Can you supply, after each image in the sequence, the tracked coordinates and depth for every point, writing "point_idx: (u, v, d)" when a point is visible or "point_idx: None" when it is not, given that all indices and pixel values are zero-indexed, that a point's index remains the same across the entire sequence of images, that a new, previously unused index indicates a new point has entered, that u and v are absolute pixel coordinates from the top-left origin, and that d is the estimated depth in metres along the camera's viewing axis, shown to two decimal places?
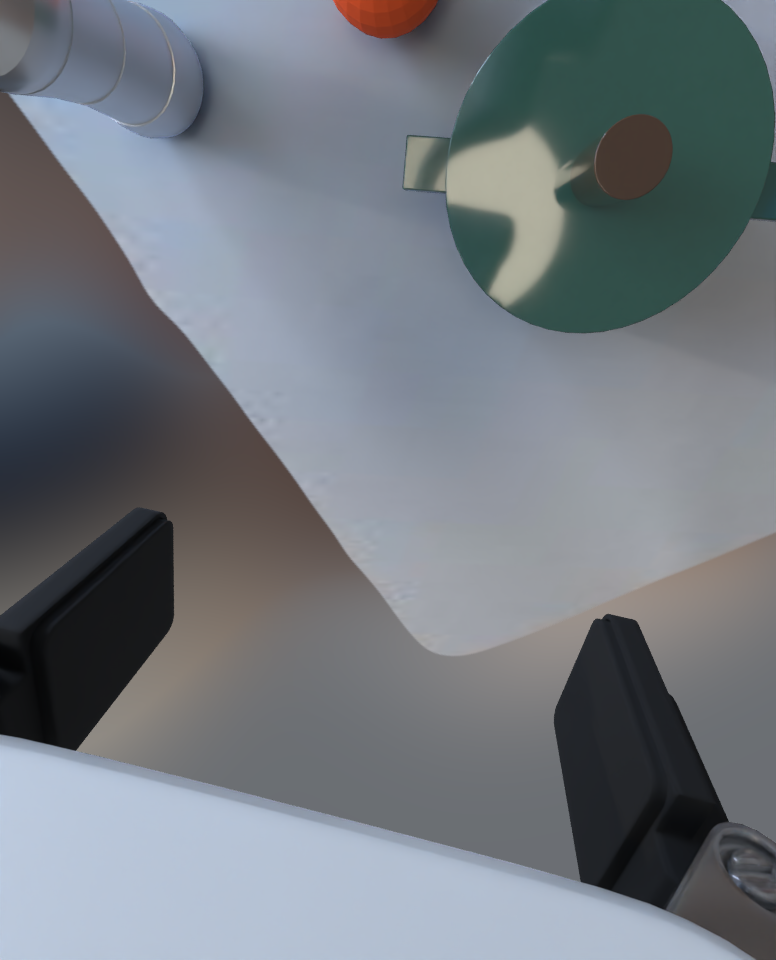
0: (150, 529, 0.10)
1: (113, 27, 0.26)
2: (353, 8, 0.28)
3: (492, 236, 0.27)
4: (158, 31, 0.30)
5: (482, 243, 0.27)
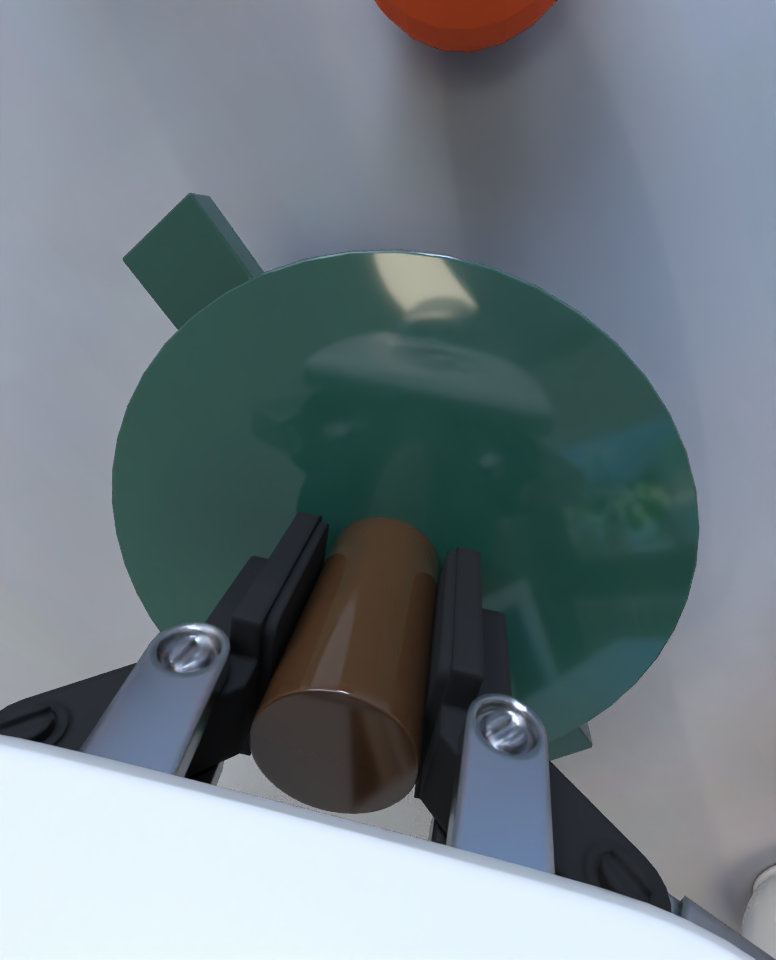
0: (317, 531, 0.11)
1: None
2: None
3: (182, 480, 0.13)
4: None
5: (158, 473, 0.13)
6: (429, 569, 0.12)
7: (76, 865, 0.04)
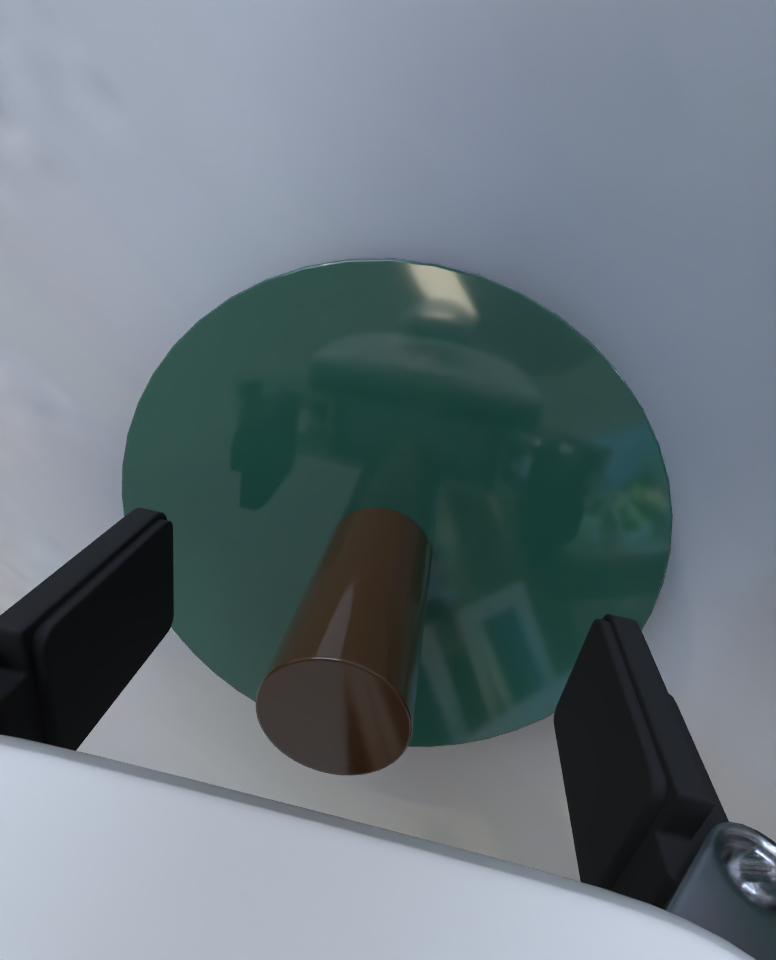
0: (150, 529, 0.10)
1: None
2: None
3: (188, 475, 0.14)
4: None
5: (166, 468, 0.14)
6: (421, 555, 0.13)
7: (76, 865, 0.04)
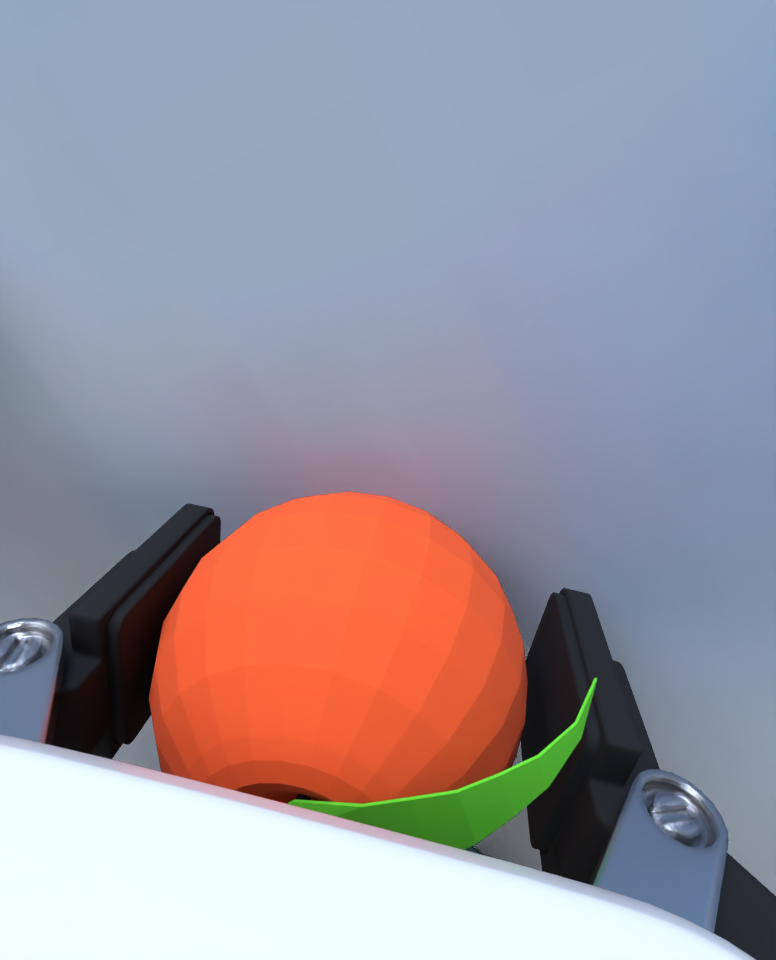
0: (202, 524, 0.11)
1: None
2: None
3: None
4: None
5: None
6: None
7: (76, 865, 0.04)
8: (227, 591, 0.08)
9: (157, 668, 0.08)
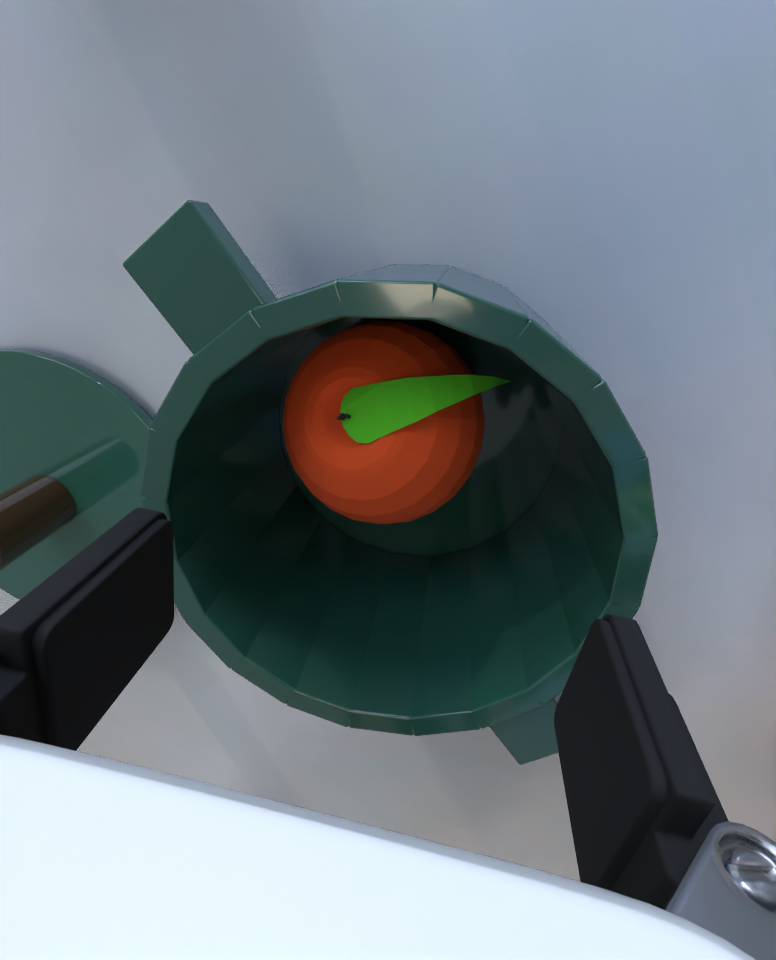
0: (150, 529, 0.10)
1: None
2: (285, 436, 0.18)
3: None
4: None
5: None
6: (51, 499, 0.25)
7: (76, 865, 0.04)
8: None
9: (294, 376, 0.17)
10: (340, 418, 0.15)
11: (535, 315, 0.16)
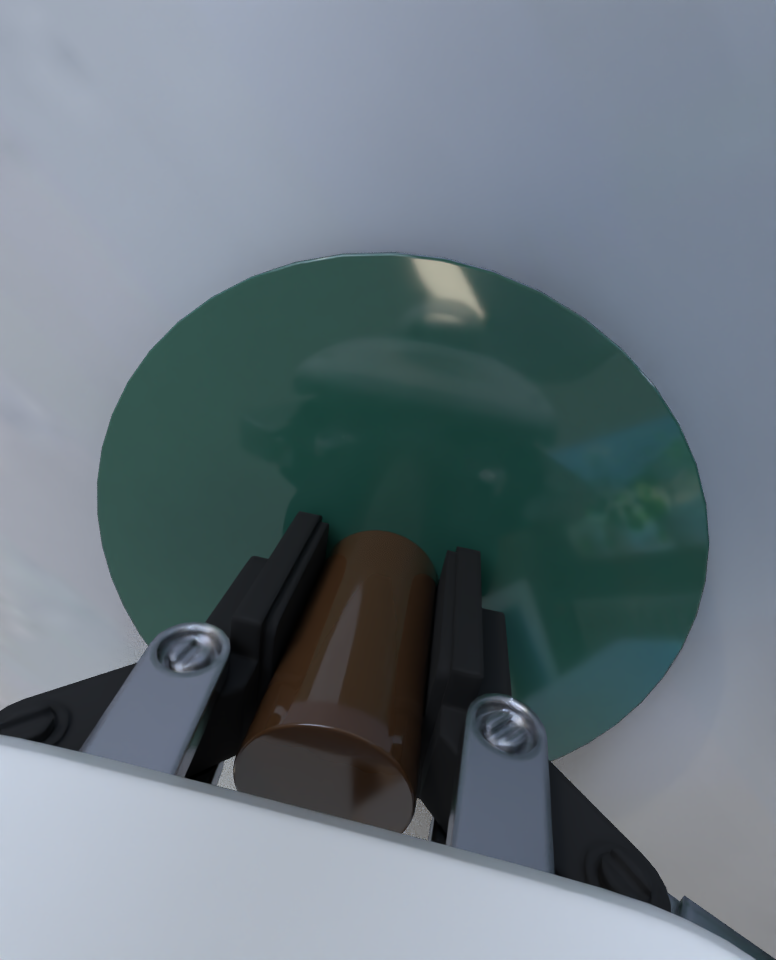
0: (317, 531, 0.11)
1: None
2: None
3: (169, 492, 0.13)
4: None
5: (145, 485, 0.13)
6: (427, 586, 0.11)
7: (76, 865, 0.04)
8: None
9: None
10: None
11: None
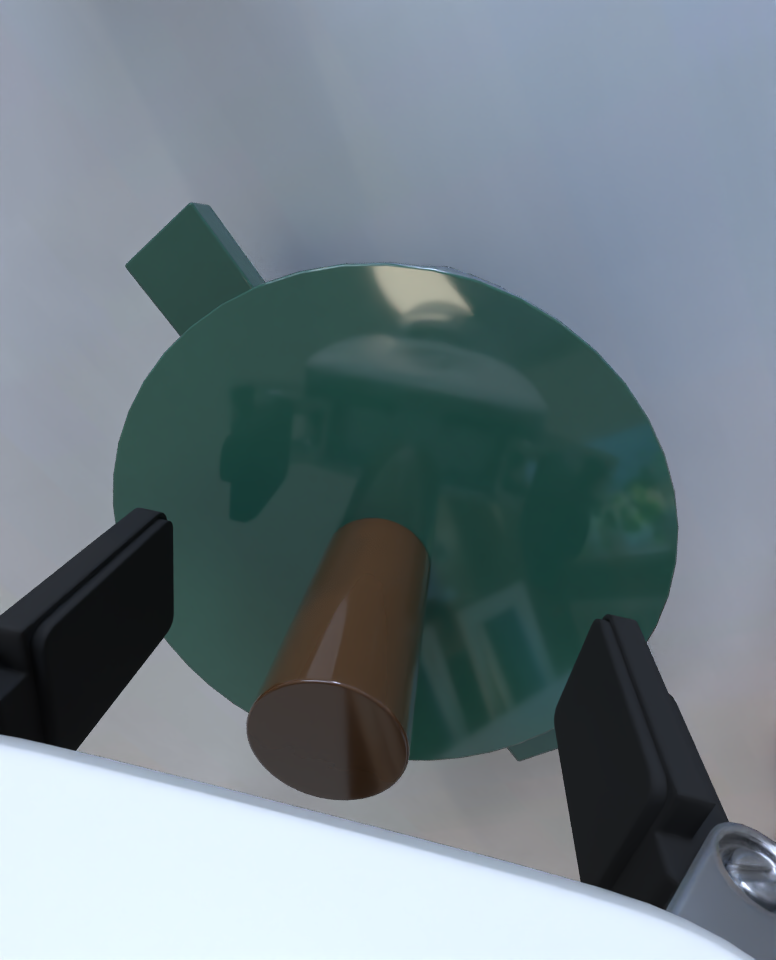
0: (150, 529, 0.10)
1: None
2: None
3: (181, 484, 0.14)
4: None
5: (158, 477, 0.14)
6: (419, 568, 0.12)
7: (76, 865, 0.04)
8: None
9: None
10: None
11: None
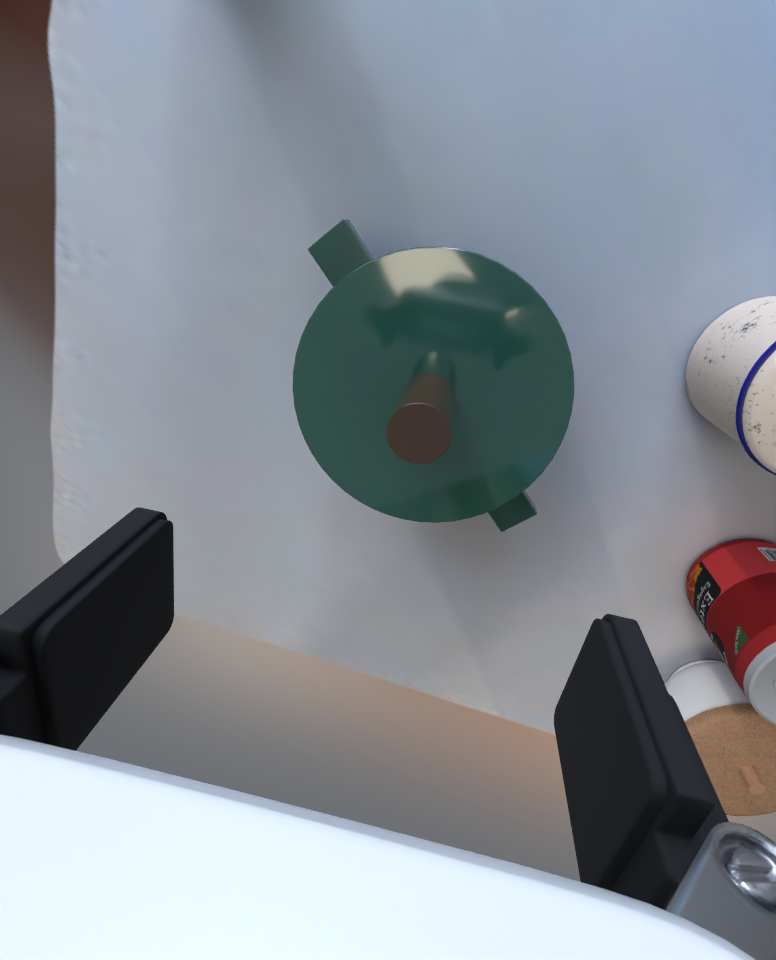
0: (150, 529, 0.10)
1: None
2: None
3: (330, 358, 0.27)
4: None
5: (319, 355, 0.27)
6: (451, 392, 0.26)
7: (76, 865, 0.04)
8: None
9: None
10: None
11: None
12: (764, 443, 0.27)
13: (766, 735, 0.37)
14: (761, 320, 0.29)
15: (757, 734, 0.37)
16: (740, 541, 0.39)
